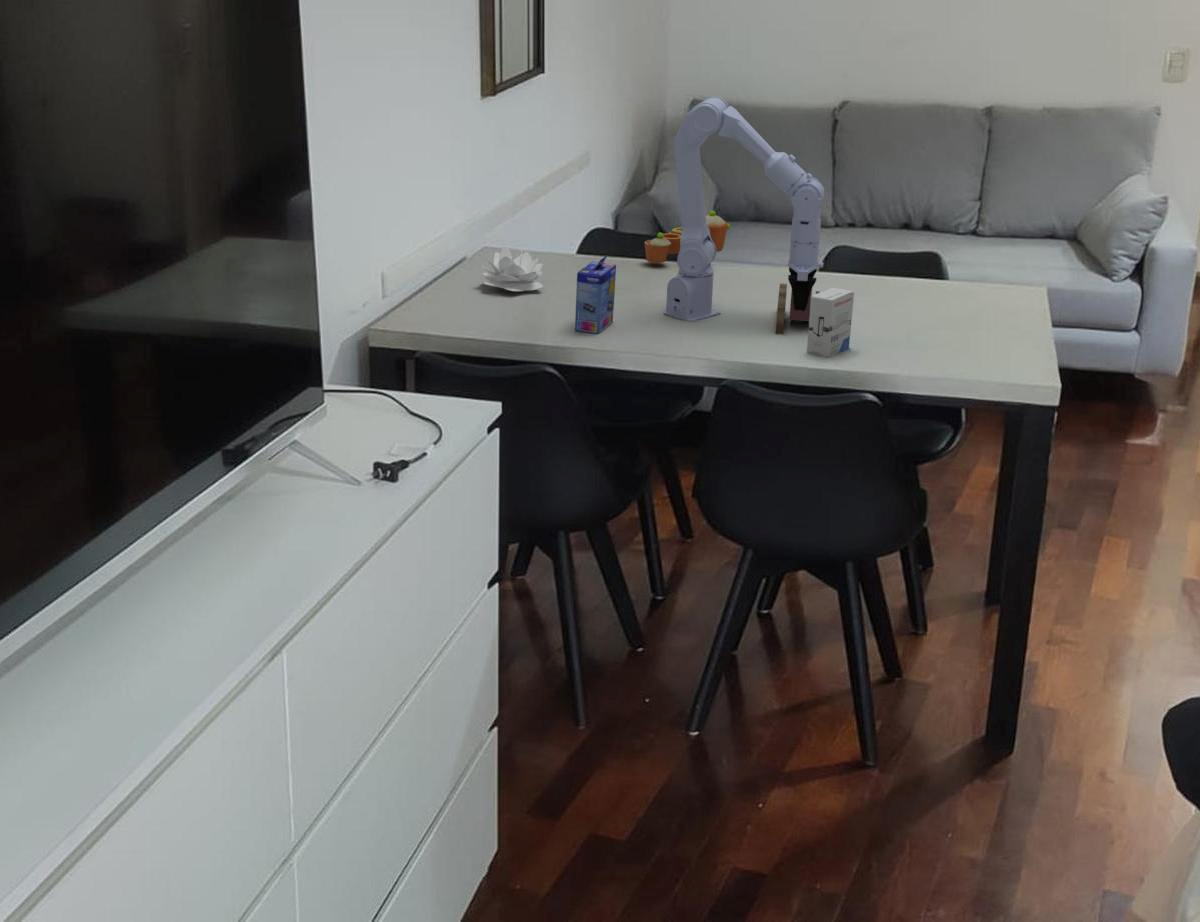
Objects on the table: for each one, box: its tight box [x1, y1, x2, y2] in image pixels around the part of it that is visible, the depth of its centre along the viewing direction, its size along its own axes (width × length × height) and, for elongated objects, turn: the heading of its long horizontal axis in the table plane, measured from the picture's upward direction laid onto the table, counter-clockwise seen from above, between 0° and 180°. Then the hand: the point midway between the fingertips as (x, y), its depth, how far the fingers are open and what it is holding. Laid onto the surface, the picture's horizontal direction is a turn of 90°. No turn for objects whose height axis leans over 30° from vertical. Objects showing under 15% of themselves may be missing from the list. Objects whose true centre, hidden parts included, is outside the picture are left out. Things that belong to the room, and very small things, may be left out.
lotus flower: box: [480, 245, 544, 292], centre depth 317 cm, size 14×15×9 cm
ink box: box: [806, 287, 855, 358], centre depth 278 cm, size 9×5×12 cm, turn 141°
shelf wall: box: [775, 282, 788, 335], centre depth 297 cm, size 18×2×6 cm, turn 172°
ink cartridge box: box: [574, 254, 617, 335], centre depth 289 cm, size 10×6×14 cm, turn 162°
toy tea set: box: [644, 210, 731, 264], centre depth 347 cm, size 26×16×10 cm, turn 156°
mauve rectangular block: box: [789, 288, 813, 322], centre depth 296 cm, size 5×4×7 cm
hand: (800, 306), depth 296 cm, fingers closed on mauve rectangular block, 5 cm apart
